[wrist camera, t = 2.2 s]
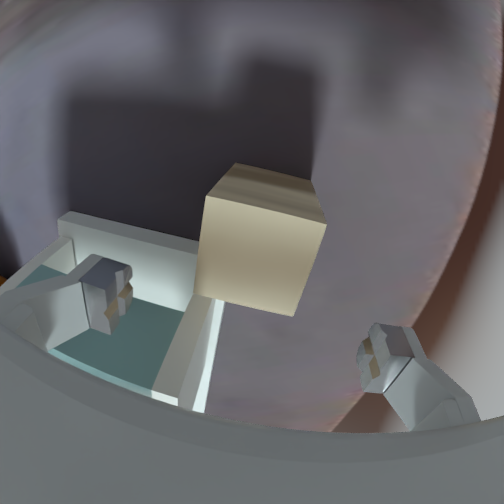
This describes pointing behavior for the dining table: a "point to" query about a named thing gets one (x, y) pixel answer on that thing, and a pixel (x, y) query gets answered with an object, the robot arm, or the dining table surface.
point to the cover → (133, 337)
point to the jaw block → (258, 239)
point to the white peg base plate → (147, 269)
